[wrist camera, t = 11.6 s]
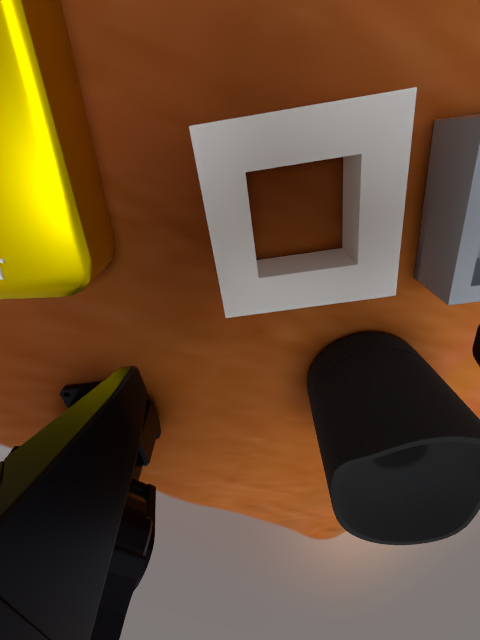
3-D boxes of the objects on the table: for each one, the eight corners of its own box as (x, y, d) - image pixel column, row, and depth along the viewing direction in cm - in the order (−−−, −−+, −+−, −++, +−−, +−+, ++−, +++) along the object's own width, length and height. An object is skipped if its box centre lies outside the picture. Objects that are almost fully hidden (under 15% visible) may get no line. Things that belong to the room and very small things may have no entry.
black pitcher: (278, 366, 25) (300, 488, 17) (391, 300, 22) (488, 405, 14) (336, 433, 29) (379, 561, 20) (439, 383, 26) (540, 507, 18)
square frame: (226, 296, 22) (225, 318, 20) (195, 127, 17) (188, 125, 15) (376, 275, 21) (395, 295, 19) (388, 94, 17) (416, 86, 14)
